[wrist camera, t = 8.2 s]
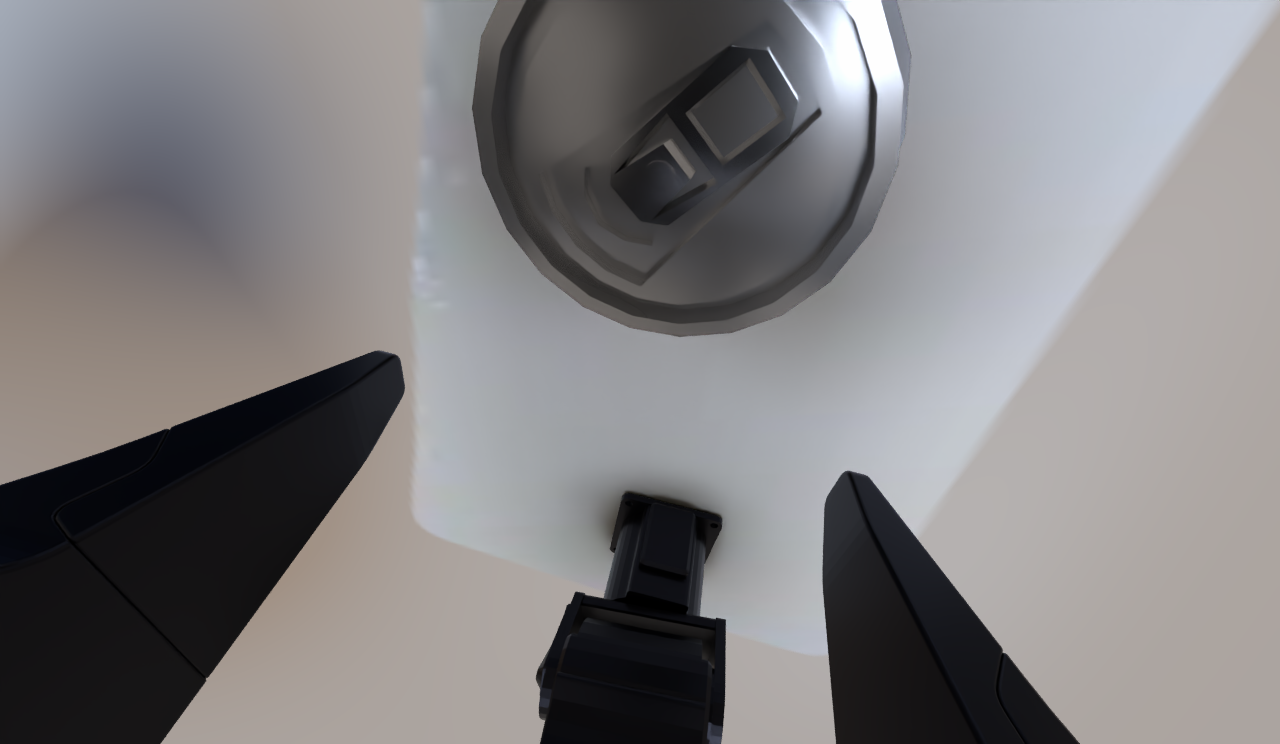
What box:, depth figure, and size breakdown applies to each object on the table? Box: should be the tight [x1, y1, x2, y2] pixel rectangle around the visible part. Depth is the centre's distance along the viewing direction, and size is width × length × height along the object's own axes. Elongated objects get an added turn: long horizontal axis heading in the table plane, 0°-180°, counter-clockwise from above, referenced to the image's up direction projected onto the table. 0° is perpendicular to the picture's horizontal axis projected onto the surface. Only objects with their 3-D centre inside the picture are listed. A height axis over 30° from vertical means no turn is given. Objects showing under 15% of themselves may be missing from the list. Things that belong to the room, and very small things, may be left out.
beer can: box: [472, 0, 911, 337], centre depth 10 cm, size 5×5×12 cm
